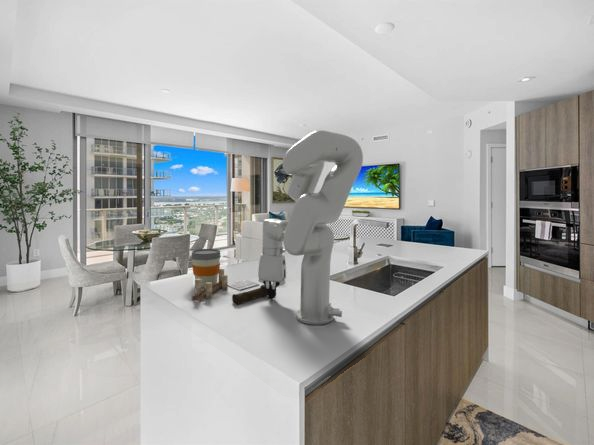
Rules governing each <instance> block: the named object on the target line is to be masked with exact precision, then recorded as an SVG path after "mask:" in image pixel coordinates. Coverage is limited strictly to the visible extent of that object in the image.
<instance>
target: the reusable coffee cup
mask: <svg viewBox="0 0 594 445" xmlns="http://www.w3.org/2000/svg"><path fill="white" fill-rule="evenodd" d="M220 259H221V250H220V249H217V248H216V249H215V248H201V249H194V250H192V251H191V260H192V264H191V267H192V273H193V275H194V280H195V279H202V288H206V283H208V282H211V283H212V285H214V284H216V283H218V278H219V269H221V268H220V267H221V262H220V261H221V260H220Z"/></svg>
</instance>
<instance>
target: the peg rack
mask: <svg viewBox="0 0 594 445" xmlns="http://www.w3.org/2000/svg"><path fill="white" fill-rule="evenodd" d="M228 282H229V281H228V274H225V269H224V268H220V269H219V273H218V281H217V283H216V284H214V285H212V283H211V282H208V283H206V287H205V289H202V288H203V287H202V279H195V278H194V290H195V291H194V294H193V295H191V300H192V301H197V302H202V301H203V300H205V299H206V300H211V299H213V295H215V294H216V293H218V292H219V291H227V290H228V288H229V287H228V284H229V283H228Z"/></svg>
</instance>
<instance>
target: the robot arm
mask: <svg viewBox="0 0 594 445" xmlns="http://www.w3.org/2000/svg"><path fill="white" fill-rule="evenodd" d="M363 162H364V155H363V150H362V148H361V145H360V144H359V142H358V141H357V140H356V139H354V138H353V137H351V136H348V135H346V134H341V133H338V132H337V133H336V132H333V131H332V132H331V131H327V130H321V129H320V130H314V131H312V132H310V133H309V134H307V135H306V136H304V137H303V138H302V139H301V140H299V141H297V142H296V143H295V144H294V145H292V146H291V147H290V148H289V149H288V150H287V151H286V153H285V154H284V156H283V159H282V169H283V171H284V172H285V174H286V175H289V176H292V178H291V180H290V182H289V183H290V184H289V185H288V189H287V194H288V196H289V198H291V199H292V200H293V201H295V203H294V205H293V207H292V210H291V212H290V216H289V219H283V220H282V219H280V218H266V219H264V220H263V222H262V253H261V254H260V258H259V262H258V273H257V274H258V277H257V278H258V282H259V283H261V284H263V285H265V286H266V288H267V296H266V297H268V298H267V299H268V300H273V299H275V298H276V296H277V287H279V286H283V285H285V284H287V283H286V279H287V266H286V257H285V253H288V254H289V255H291V256H295V257H296V256H303V257H302V261H301V267H300V305H299V306H300V309H298V310H297V311H296V312H295V318H296V320H297V321H299V322H301V323H303V324H306V325H314V326H319V325H326V324H329V323H331V322H332V321H333V320H334V317H338V318H343V317H342V316H343V311H342V310H340V309H341V308H337V307H336V308H335V307H333V306H332V303H331V302H330V288H331V287H330V286H331V284H330V283H331V282H330V281H331V278H330V277H331V261H332V260H331V259H332V252H333V247H334V242H335V236H334V232H333V230H332V229H331V227H330V226H329V224H333V223H335V222H337V221H338V220H339V219H340V217H341V215H342V212H343V209H344V207H345V205H346V203H347V200H348V198H349V195H350V193H351V191H352V188H353V186H354V183H356V182H355V181H356V180H357V178H358V176H359V174H360V172H361V169H362V166H363ZM325 163H333V164H335V165H334V166H333V167H332V169H331V170H330V171H329V172H328V173H327V175H326V176H325V178H324V181H323V184H322V186H321V188H320V190H319V191H318V192H315V190H316V188H317V184H318V183H319V180H320V177H321V176H322V173H323V169H324V166H325ZM327 224H328V225H327Z"/></svg>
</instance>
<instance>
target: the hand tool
mask: <svg viewBox="0 0 594 445" xmlns="http://www.w3.org/2000/svg"><path fill="white" fill-rule="evenodd" d="M260 297H262V298H266V297H268V296H267V288H266V286H265V285H264V284H262V285H260V287H259V288H255V289H251V290H248V291H244V292H239V293H233V294H232V296H231V299H232V303H233V304H235V305H239V304H242V303H243V302H248V301H250V300H251V301H252V300H254V299H257V298H260Z"/></svg>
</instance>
